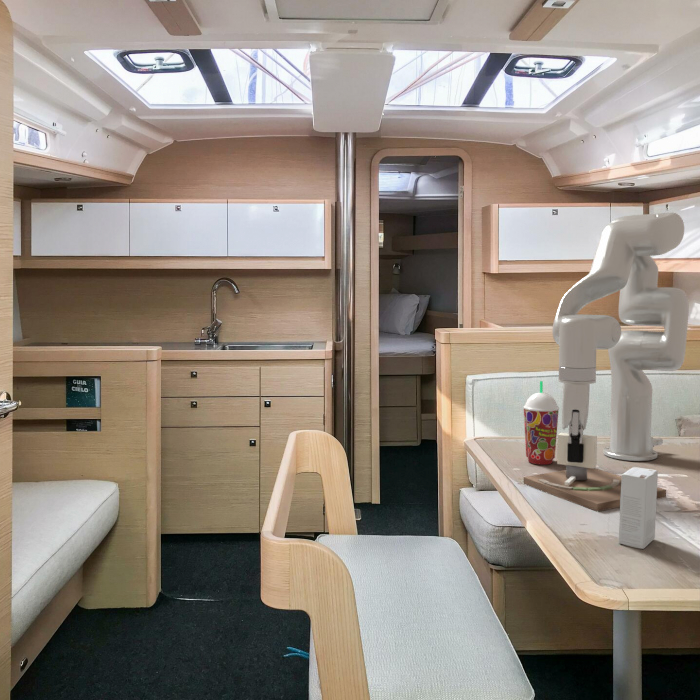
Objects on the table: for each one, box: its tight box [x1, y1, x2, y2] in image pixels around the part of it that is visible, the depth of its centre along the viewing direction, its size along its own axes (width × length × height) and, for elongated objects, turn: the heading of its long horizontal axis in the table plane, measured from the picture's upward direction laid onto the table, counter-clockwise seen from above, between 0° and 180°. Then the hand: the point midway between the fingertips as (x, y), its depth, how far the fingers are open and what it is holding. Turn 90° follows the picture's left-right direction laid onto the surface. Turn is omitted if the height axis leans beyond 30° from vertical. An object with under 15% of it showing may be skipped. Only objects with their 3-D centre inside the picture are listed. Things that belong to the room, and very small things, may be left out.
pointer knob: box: [556, 432, 598, 485], centre depth 143 cm, size 10×8×9 cm
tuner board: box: [522, 467, 667, 512], centre depth 143 cm, size 19×21×2 cm
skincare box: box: [618, 466, 659, 550], centre depth 113 cm, size 6×4×12 cm
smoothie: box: [523, 380, 560, 466], centre depth 165 cm, size 8×8×20 cm
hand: (575, 458), depth 146 cm, fingers closed on pointer knob, 3 cm apart
